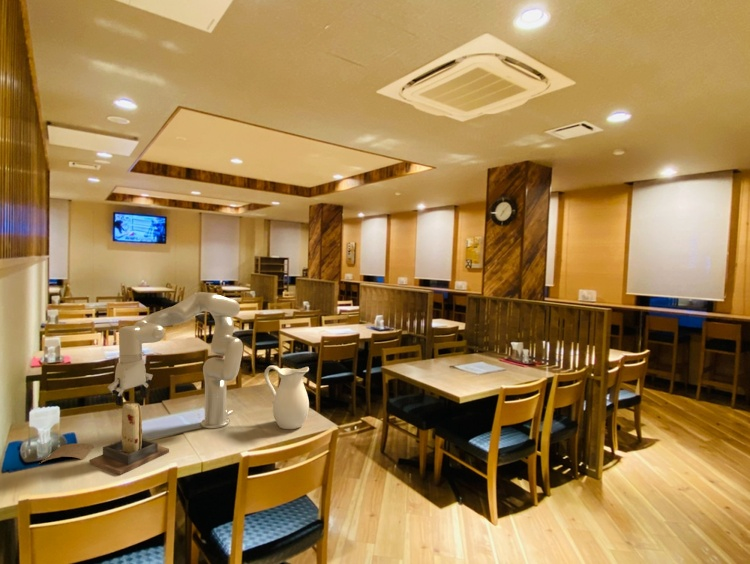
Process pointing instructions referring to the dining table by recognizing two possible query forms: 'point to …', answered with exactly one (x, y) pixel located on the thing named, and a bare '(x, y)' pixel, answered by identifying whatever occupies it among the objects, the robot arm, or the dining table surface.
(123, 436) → the food model
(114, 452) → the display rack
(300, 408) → the pitcher
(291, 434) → the dining table surface
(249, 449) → the dining table surface
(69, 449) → the brown curved panel
